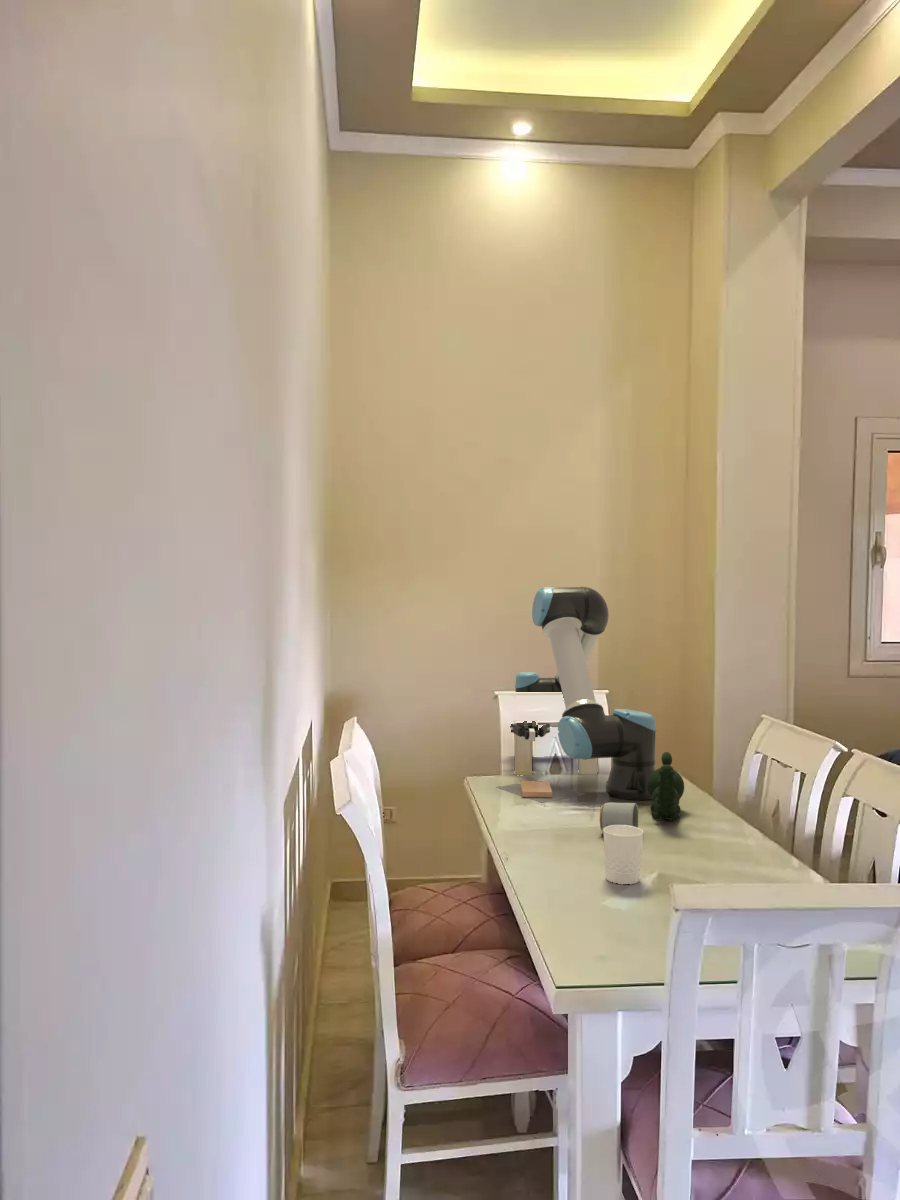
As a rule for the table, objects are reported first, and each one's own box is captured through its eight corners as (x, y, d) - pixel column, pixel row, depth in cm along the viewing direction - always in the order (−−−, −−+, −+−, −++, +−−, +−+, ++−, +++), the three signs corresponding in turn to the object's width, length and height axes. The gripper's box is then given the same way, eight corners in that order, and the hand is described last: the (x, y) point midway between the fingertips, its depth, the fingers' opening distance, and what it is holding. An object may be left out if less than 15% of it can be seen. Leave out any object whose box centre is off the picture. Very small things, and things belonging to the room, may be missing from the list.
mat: (586, 797, 246) (586, 794, 246) (541, 805, 237) (541, 802, 237) (539, 782, 262) (539, 780, 262) (495, 789, 253) (495, 787, 253)
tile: (520, 781, 254) (522, 791, 242) (548, 781, 253) (552, 792, 241) (520, 786, 254) (522, 797, 242) (548, 787, 254) (552, 798, 242)
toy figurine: (685, 836, 216) (682, 801, 241) (687, 760, 214) (684, 732, 238) (645, 833, 218) (647, 798, 243) (646, 757, 216) (648, 730, 240)
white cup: (614, 870, 186) (615, 822, 186) (649, 878, 181) (650, 829, 181) (595, 879, 180) (596, 830, 180) (630, 889, 175) (631, 838, 175)
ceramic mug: (604, 827, 217) (605, 796, 217) (638, 831, 214) (639, 800, 213) (595, 840, 207) (595, 808, 207) (630, 845, 204) (631, 811, 204)
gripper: (548, 736, 285) (554, 749, 262) (507, 736, 286) (510, 749, 262) (548, 712, 285) (555, 723, 262) (507, 712, 286) (510, 723, 262)
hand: (532, 736), depth 262 cm, fingers closed
